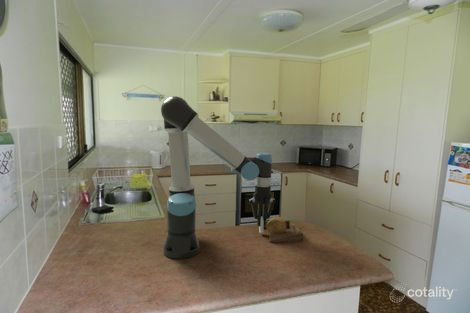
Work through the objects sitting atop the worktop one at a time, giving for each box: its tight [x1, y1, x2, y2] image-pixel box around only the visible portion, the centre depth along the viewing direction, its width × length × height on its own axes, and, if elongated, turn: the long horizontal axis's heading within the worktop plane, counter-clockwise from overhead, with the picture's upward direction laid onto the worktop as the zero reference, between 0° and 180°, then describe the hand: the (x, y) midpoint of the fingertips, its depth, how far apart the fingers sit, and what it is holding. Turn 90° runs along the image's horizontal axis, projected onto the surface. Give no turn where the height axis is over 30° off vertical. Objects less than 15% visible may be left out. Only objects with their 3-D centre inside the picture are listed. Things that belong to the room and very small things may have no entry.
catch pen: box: [263, 219, 304, 243], centre depth 140 cm, size 18×16×4 cm
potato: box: [265, 216, 287, 235], centre depth 140 cm, size 10×14×8 cm
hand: (261, 232), depth 139 cm, fingers closed
